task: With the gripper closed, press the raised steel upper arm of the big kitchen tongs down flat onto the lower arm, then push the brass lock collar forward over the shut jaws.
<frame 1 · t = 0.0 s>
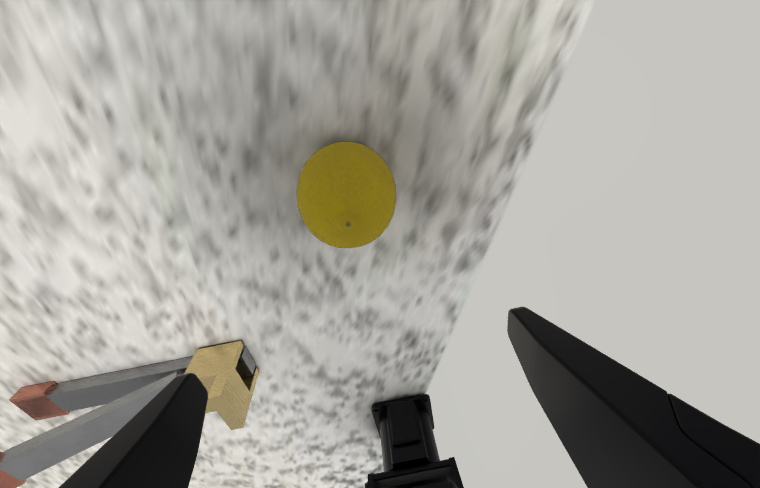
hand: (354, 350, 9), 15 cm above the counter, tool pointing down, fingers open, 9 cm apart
tong base: (192, 366, 29), on the counter
upper tong arm: (85, 431, 25), point 5 cm above the counter, hinge at 22.0°
lemon: (346, 171, 21), on the counter
lock collar: (218, 386, 26), point 3 cm above the counter, slide at 0.0 cm
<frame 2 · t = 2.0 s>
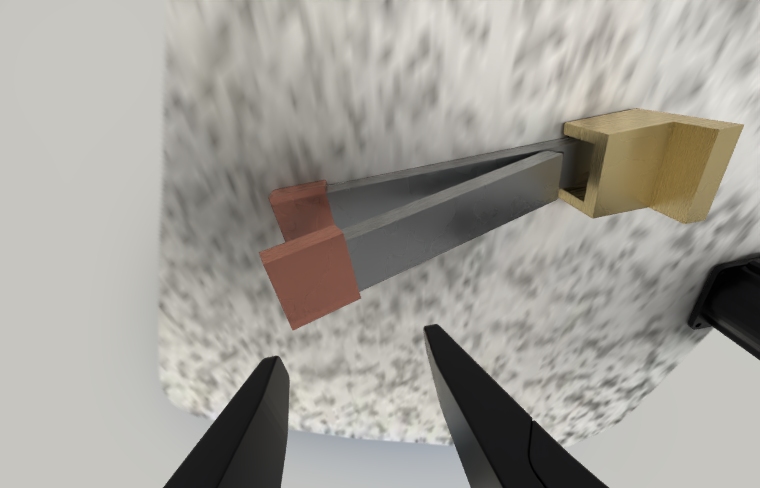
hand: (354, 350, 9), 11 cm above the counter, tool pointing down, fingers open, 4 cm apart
tong base: (532, 165, 18), on the counter
upper tong arm: (441, 222, 14), point 5 cm above the counter, hinge at 22.0°
lock collar: (629, 167, 16), point 3 cm above the counter, slide at 0.0 cm
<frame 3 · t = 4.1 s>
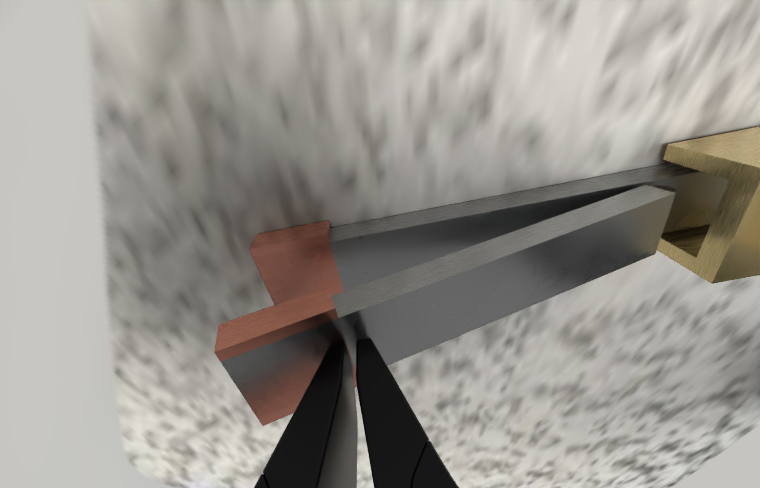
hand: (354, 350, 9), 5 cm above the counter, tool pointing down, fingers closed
tong base: (613, 200, 13), on the counter
upper tong arm: (482, 284, 10), point 4 cm above the counter, hinge at 14.7°, touching gripper
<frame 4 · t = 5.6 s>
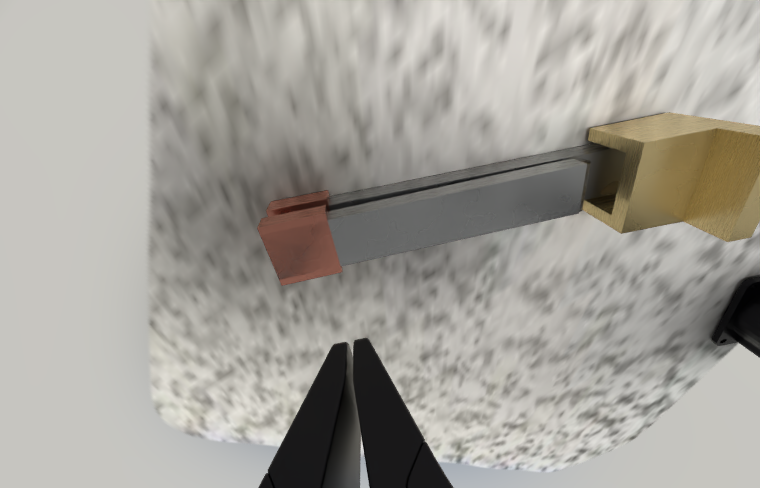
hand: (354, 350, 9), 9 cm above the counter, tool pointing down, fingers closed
tong base: (553, 174, 17), on the counter
upper tong arm: (430, 218, 15), point 2 cm above the counter, hinge at 2.4°
lock collar: (663, 178, 14), point 3 cm above the counter, slide at 0.0 cm
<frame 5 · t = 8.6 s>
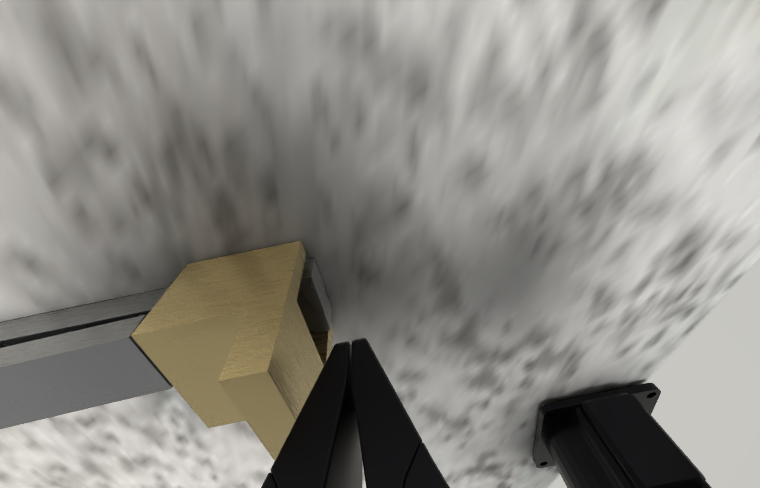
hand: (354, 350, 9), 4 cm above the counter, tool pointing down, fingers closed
tong base: (184, 312, 12), on the counter
lock collar: (248, 355, 10), point 3 cm above the counter, slide at 0.2 cm, touching gripper
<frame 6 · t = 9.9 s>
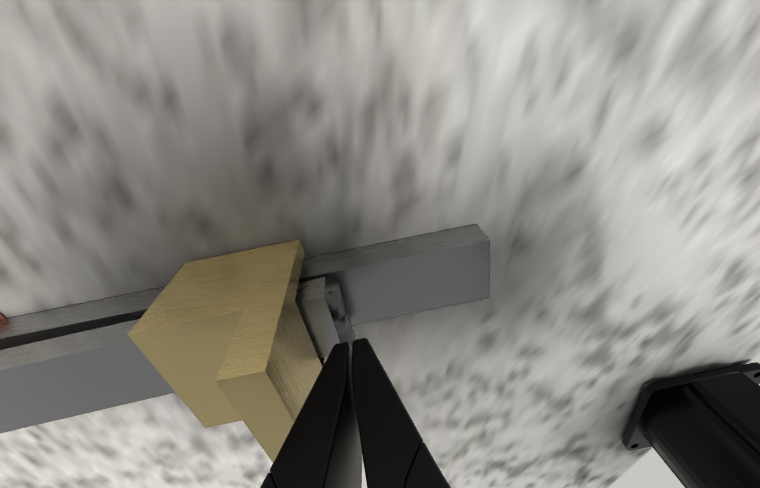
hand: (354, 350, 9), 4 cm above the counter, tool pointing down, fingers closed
tong base: (336, 281, 12), on the counter
upper tong arm: (113, 366, 10), point 2 cm above the counter, hinge at 2.4°
lock collar: (245, 354, 9), point 3 cm above the counter, slide at 6.2 cm, touching gripper
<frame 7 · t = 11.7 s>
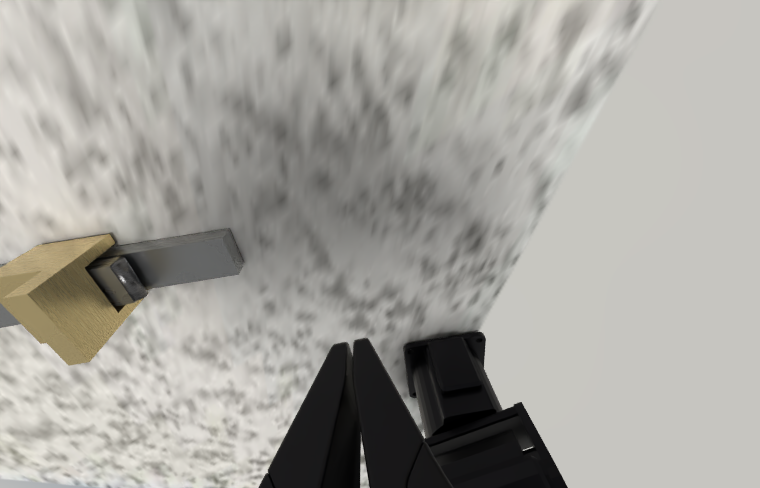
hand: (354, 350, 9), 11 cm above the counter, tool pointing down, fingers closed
tong base: (146, 260, 19), on the counter
lock collar: (61, 299, 16), point 3 cm above the counter, slide at 6.4 cm
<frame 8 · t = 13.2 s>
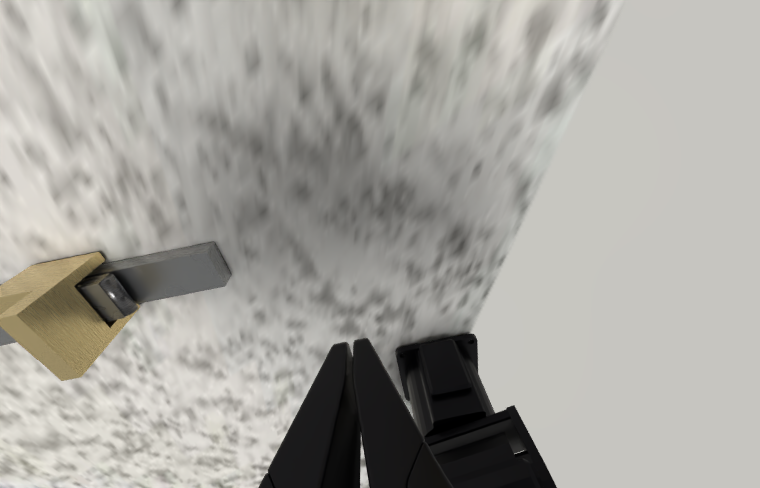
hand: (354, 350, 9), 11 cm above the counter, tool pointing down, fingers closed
tong base: (136, 276, 19), on the counter
lock collar: (54, 317, 17), point 3 cm above the counter, slide at 6.4 cm
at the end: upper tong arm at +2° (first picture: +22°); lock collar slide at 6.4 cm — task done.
